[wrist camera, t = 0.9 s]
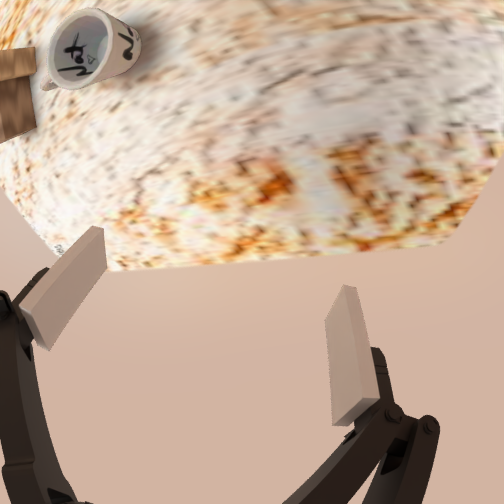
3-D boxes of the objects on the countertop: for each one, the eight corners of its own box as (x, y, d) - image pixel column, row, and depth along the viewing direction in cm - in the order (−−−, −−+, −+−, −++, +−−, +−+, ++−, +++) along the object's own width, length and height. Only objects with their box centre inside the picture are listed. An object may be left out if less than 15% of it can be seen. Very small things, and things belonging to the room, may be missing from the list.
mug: (162, 61, 30) (125, 58, 22) (83, 111, 35) (39, 125, 26) (138, 4, 25) (98, -10, 17) (62, 59, 30) (18, 64, 21)
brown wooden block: (11, 59, 28) (-20, 64, 21) (27, 47, 27) (-6, 51, 21) (21, 134, 37) (-9, 147, 30) (37, 126, 36) (5, 139, 29)
